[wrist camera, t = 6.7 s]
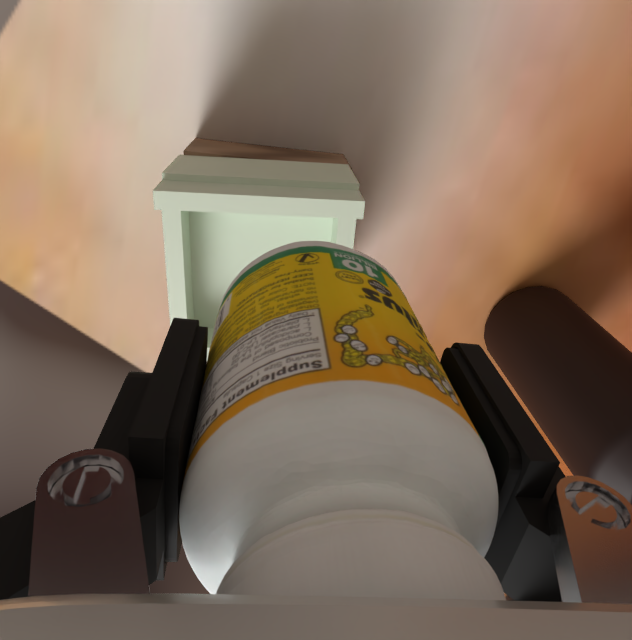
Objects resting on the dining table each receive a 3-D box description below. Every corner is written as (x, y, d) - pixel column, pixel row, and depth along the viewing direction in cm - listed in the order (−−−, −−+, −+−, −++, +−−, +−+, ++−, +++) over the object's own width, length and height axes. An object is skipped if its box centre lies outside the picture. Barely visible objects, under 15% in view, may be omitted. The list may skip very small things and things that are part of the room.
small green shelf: (348, 164, 28) (365, 194, 22) (334, 311, 32) (346, 369, 26) (179, 154, 27) (152, 183, 21) (187, 307, 31) (167, 365, 25)
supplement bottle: (178, 295, 14) (25, 689, 5) (354, 196, 13) (506, 483, 4) (281, 427, 16) (287, 843, 8) (435, 352, 15) (635, 732, 7)
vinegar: (494, 281, 36) (696, 501, 19) (584, 286, 37) (862, 504, 19) (472, 361, 39) (627, 614, 22) (555, 364, 40) (771, 613, 22)
